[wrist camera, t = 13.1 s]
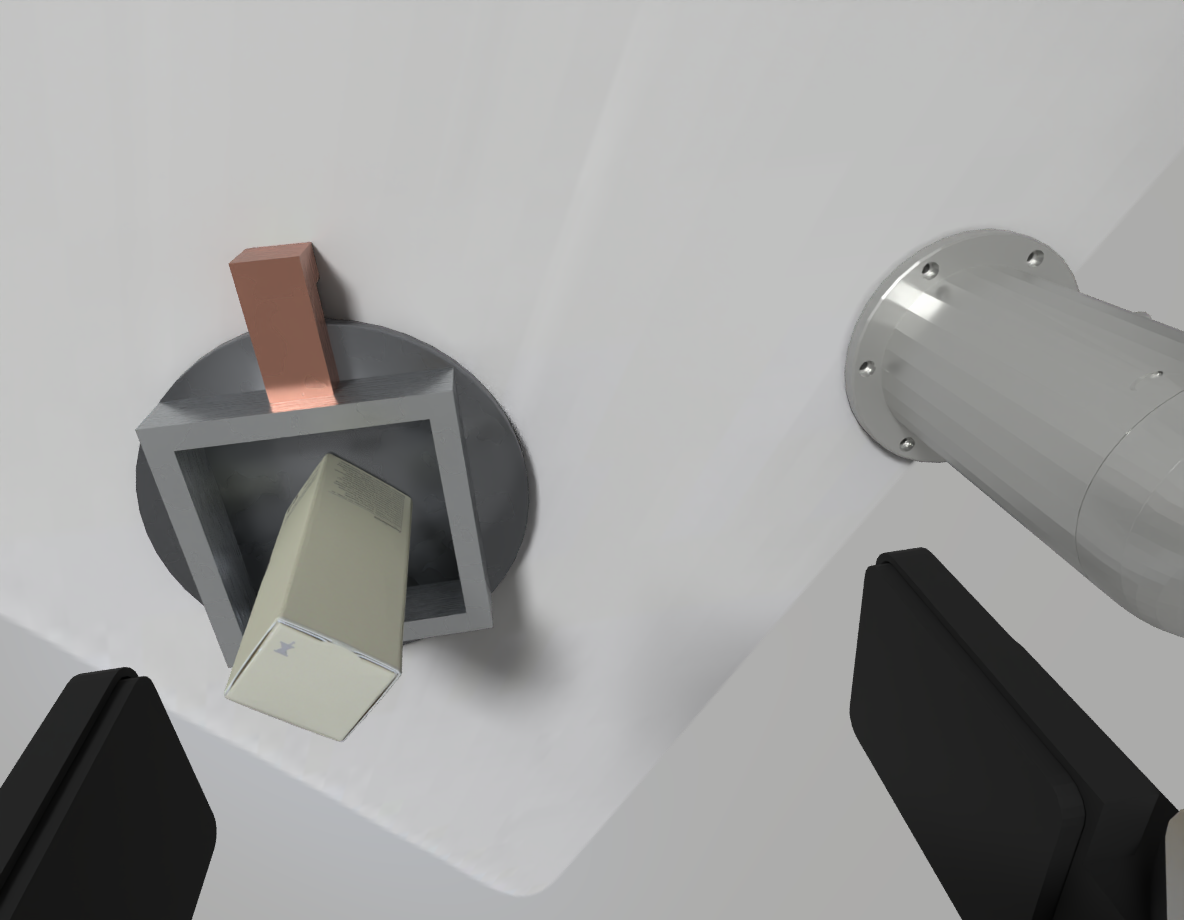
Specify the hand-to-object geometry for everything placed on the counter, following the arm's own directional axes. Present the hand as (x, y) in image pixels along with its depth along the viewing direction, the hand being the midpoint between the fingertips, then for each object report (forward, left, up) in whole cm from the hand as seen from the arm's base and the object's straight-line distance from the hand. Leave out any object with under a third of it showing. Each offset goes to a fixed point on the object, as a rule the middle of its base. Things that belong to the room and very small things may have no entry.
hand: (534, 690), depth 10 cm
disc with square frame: (+9, +10, -28) cm, 31 cm away
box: (+8, +12, -28) cm, 31 cm away
